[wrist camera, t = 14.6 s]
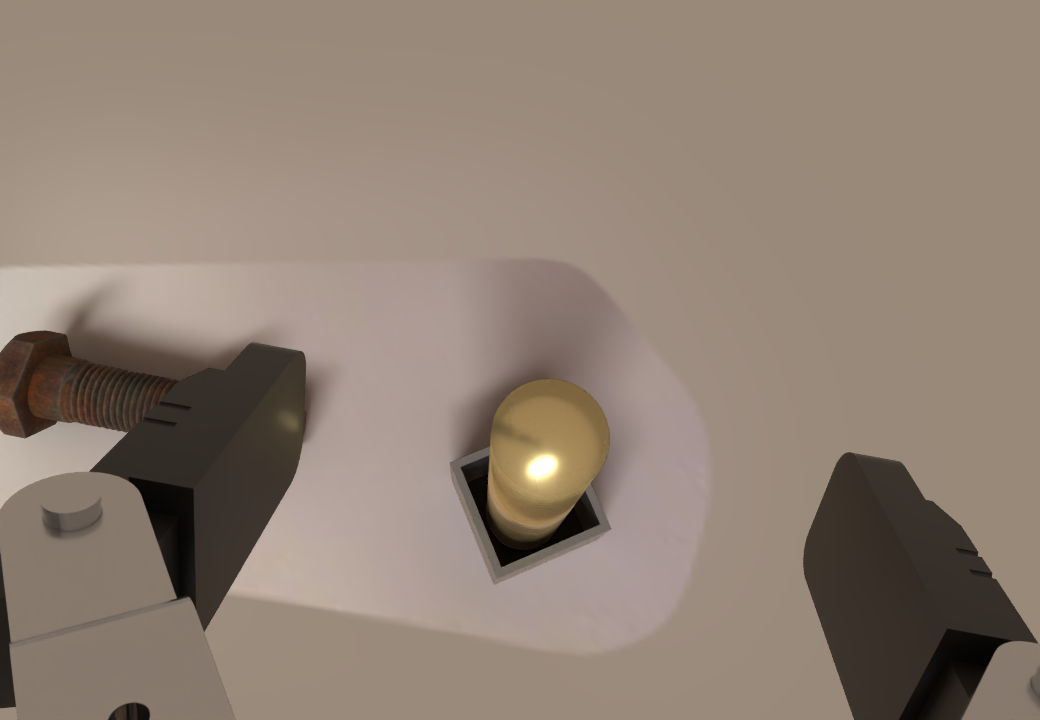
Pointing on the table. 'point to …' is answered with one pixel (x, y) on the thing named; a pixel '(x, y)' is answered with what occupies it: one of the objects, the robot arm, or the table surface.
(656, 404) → the table surface
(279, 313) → the table surface
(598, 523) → the open square box
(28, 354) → the bolt
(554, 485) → the tall amber cylinder
